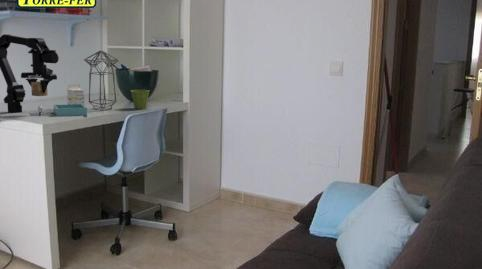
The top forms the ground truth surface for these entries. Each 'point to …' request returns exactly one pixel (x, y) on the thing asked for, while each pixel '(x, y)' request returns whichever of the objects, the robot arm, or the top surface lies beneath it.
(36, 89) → the taped shipping carton
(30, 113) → the stud plate
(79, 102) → the ink cartridge box
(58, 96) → the top surface
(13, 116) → the top surface
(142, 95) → the plant pot
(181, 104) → the top surface
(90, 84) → the geometric lantern
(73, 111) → the bin
